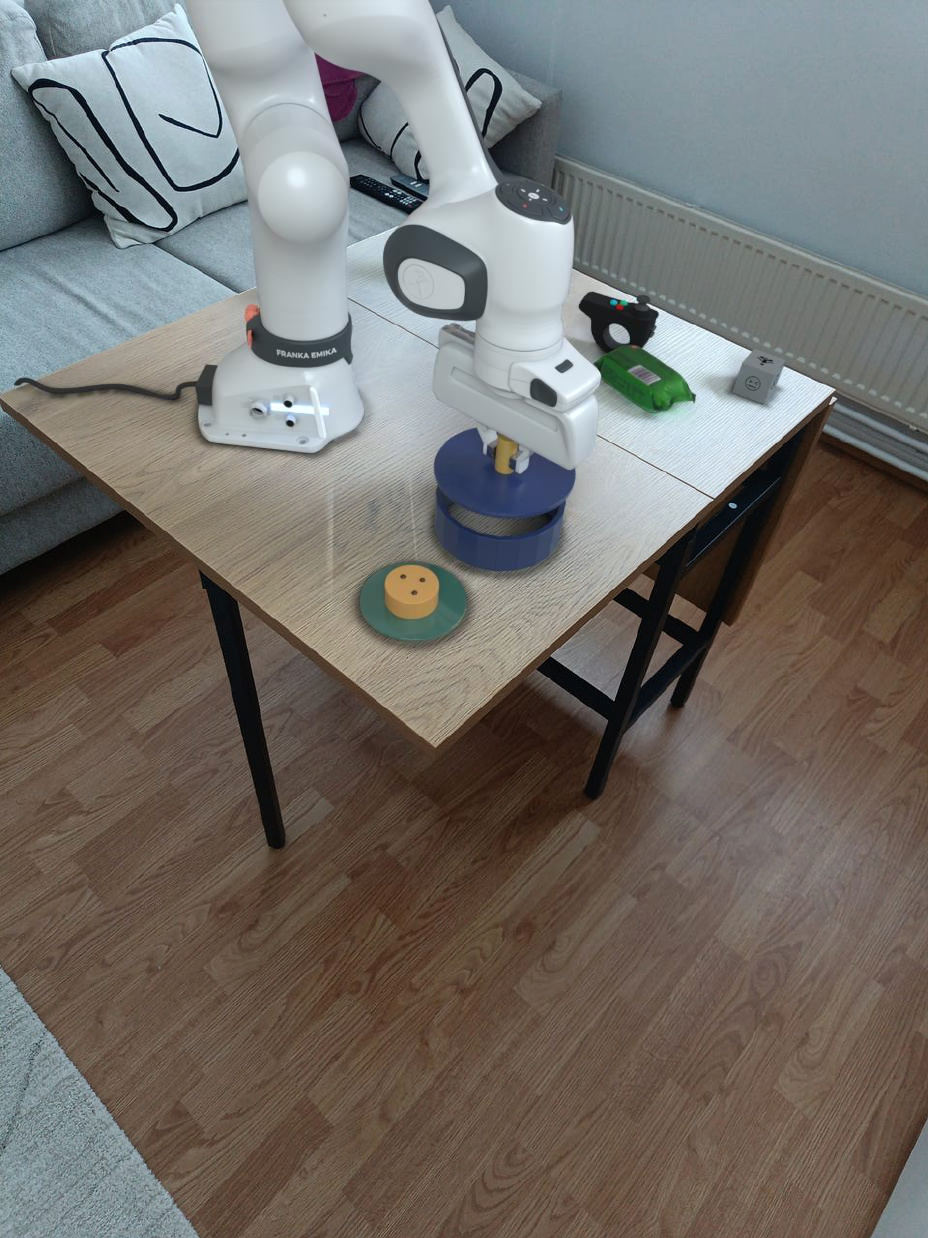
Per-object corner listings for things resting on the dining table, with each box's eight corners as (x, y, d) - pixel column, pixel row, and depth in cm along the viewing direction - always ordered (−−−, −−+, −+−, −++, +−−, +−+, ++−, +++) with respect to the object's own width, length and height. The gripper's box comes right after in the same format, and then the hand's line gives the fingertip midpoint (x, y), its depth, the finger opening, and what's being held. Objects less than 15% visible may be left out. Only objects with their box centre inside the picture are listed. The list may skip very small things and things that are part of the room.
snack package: (658, 429, 124) (667, 398, 120) (587, 375, 132) (593, 344, 128) (693, 415, 127) (703, 384, 123) (621, 363, 135) (628, 332, 131)
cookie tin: (439, 576, 102) (441, 541, 98) (430, 490, 112) (431, 456, 108) (568, 572, 103) (575, 538, 99) (548, 489, 114) (554, 454, 110)
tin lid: (438, 525, 95) (440, 484, 91) (429, 433, 106) (430, 393, 102) (586, 521, 97) (594, 481, 92) (562, 431, 108) (568, 392, 103)
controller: (641, 369, 134) (655, 309, 127) (569, 345, 138) (578, 284, 130) (651, 357, 137) (666, 297, 129) (580, 333, 140) (590, 273, 133)
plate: (360, 646, 94) (360, 641, 93) (359, 567, 102) (359, 562, 101) (471, 642, 95) (471, 637, 95) (461, 565, 103) (461, 560, 103)
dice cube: (775, 389, 133) (786, 360, 129) (763, 404, 130) (774, 374, 126) (744, 377, 135) (754, 348, 131) (732, 392, 132) (742, 362, 128)
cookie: (385, 620, 96) (385, 602, 94) (383, 581, 100) (383, 563, 98) (440, 618, 96) (441, 601, 94) (436, 580, 100) (437, 562, 98)
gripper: (420, 327, 92) (419, 435, 102) (579, 406, 84) (560, 515, 94) (459, 306, 95) (454, 412, 106) (615, 380, 87) (593, 487, 97)
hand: (505, 461), depth 100 cm, fingers closed on tin lid, 2 cm apart
